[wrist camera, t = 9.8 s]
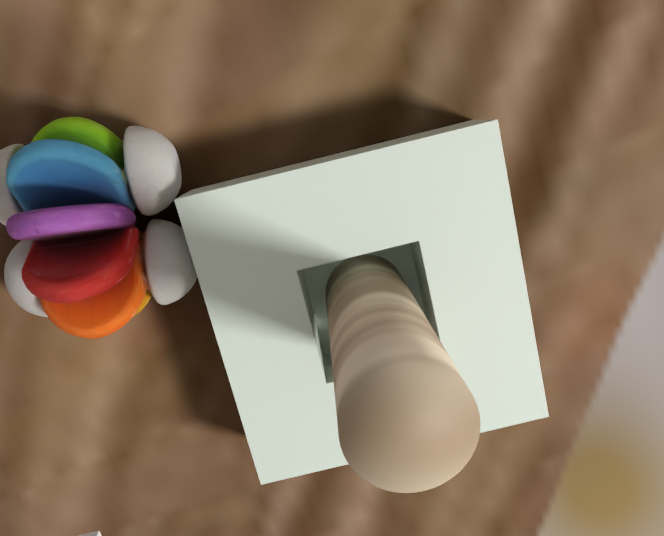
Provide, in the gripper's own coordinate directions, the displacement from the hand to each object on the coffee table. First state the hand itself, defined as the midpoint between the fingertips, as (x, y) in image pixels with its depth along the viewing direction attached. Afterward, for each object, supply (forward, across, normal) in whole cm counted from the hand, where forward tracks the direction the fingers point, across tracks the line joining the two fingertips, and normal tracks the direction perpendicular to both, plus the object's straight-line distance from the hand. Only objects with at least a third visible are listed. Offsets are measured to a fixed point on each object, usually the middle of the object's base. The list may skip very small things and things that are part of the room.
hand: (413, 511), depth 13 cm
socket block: (+19, 0, -1) cm, 19 cm away
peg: (+18, 0, -1) cm, 18 cm away
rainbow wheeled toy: (+19, -11, +6) cm, 23 cm away
